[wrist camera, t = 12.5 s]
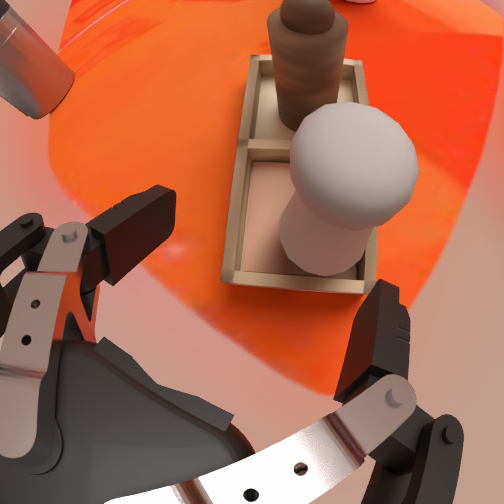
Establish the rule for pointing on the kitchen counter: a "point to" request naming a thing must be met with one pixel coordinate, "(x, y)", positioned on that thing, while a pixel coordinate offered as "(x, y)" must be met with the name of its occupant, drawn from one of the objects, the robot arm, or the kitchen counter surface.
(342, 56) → the pepper mill
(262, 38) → the kitchen counter surface
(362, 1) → the milk bottle
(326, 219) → the salt shaker
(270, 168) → the spice rack
